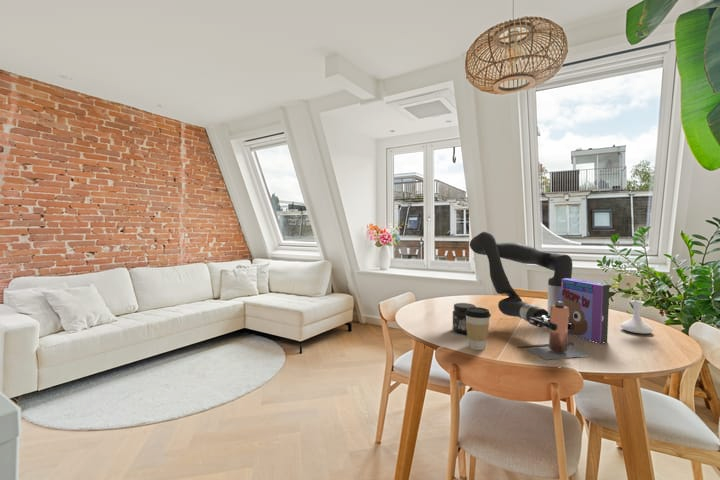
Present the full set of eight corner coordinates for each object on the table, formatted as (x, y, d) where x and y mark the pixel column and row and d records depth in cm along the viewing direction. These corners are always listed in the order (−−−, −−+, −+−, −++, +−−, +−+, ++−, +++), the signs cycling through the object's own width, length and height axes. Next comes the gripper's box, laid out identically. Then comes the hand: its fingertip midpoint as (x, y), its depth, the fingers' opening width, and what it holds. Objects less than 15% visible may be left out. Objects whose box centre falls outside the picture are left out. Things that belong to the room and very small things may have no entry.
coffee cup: (489, 344, 140) (490, 307, 140) (490, 353, 131) (491, 314, 130) (464, 341, 144) (465, 305, 143) (463, 350, 134) (463, 311, 134)
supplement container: (457, 326, 164) (457, 301, 163) (479, 330, 158) (480, 304, 157) (448, 332, 156) (449, 306, 155) (472, 337, 150) (472, 309, 149)
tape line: (571, 343, 142) (571, 342, 142) (573, 344, 140) (573, 343, 140) (517, 346, 138) (517, 346, 138) (519, 348, 136) (519, 347, 136)
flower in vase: (647, 329, 159) (650, 275, 157) (656, 337, 148) (659, 279, 147) (613, 326, 164) (615, 273, 163) (619, 333, 154) (621, 277, 152)
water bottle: (559, 345, 134) (561, 299, 133) (571, 351, 129) (573, 303, 127) (545, 346, 134) (546, 300, 132) (556, 352, 128) (558, 304, 126)
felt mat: (569, 346, 137) (569, 346, 137) (589, 356, 128) (589, 355, 128) (527, 349, 134) (527, 348, 134) (545, 360, 125) (545, 359, 125)
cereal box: (560, 331, 157) (561, 278, 155) (567, 330, 159) (568, 277, 157) (599, 343, 141) (601, 285, 139) (607, 342, 143) (609, 284, 141)
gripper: (518, 306, 143) (546, 318, 127) (549, 305, 145) (581, 316, 129) (517, 324, 144) (545, 338, 127) (549, 322, 146) (580, 336, 129)
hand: (563, 327), depth 128 cm, fingers closed on water bottle, 6 cm apart
